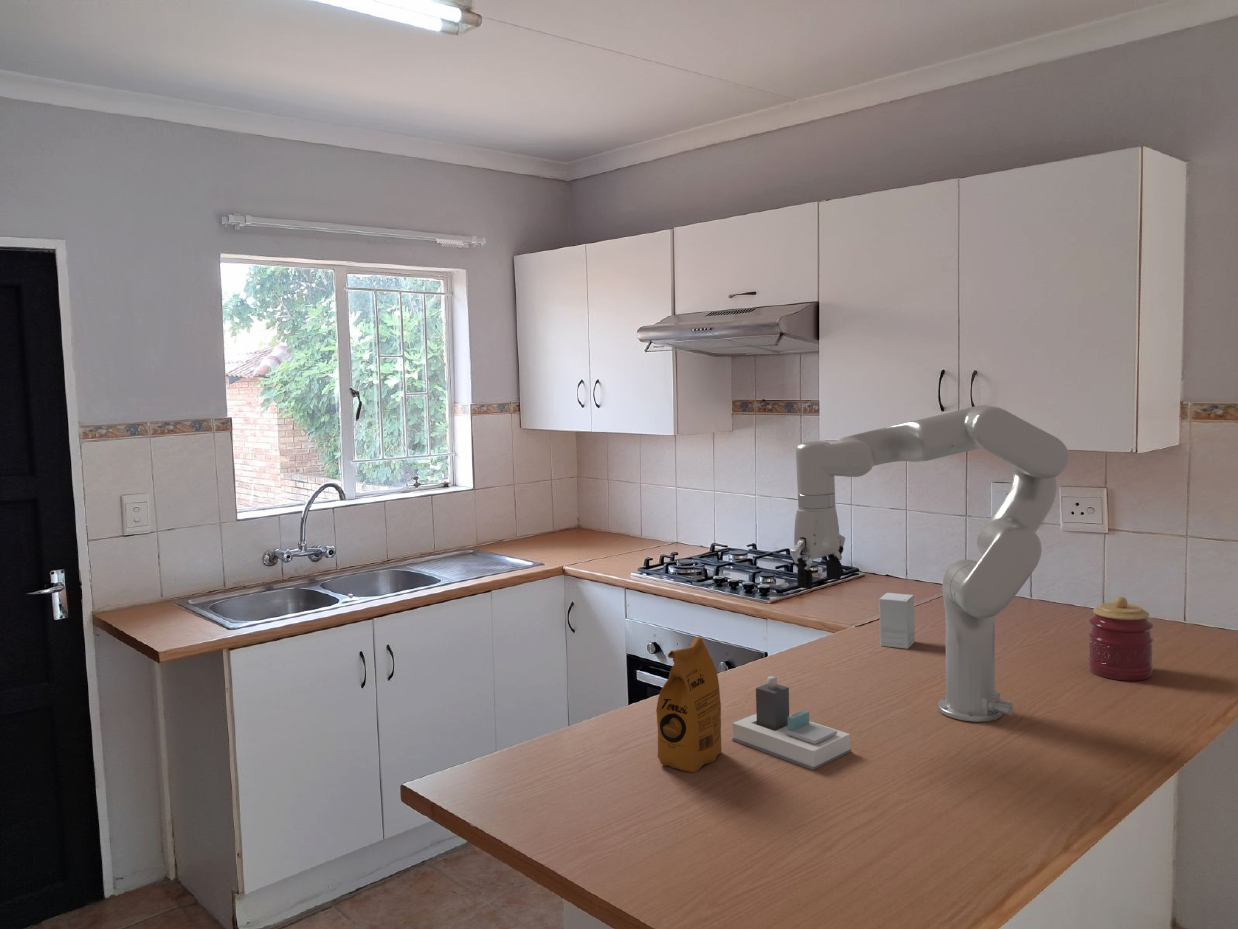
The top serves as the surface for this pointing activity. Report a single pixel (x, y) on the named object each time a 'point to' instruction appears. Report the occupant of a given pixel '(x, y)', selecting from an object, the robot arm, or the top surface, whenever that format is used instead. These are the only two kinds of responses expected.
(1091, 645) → the canister
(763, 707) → the plug
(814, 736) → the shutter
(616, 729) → the top surface
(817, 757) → the socket
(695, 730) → the coffee package
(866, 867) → the top surface
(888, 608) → the supplement box
